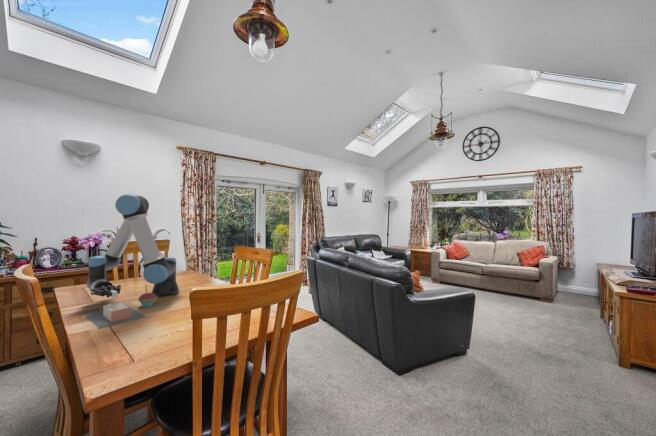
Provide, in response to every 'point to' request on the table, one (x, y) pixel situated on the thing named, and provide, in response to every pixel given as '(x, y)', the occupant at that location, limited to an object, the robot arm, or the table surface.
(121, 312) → the tall block
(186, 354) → the table surface
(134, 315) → the mat
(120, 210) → the robot arm
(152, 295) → the cupcake
